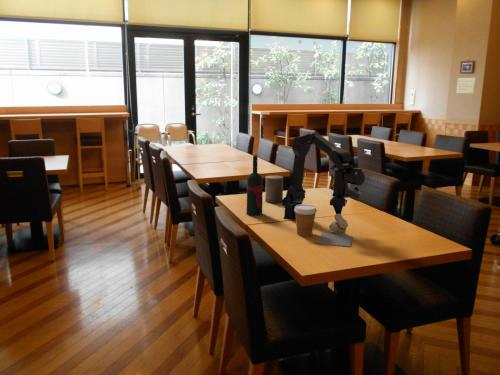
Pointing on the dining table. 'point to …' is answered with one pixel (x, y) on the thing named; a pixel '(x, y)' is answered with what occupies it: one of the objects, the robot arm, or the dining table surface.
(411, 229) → the dining table surface
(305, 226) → the disposable coffee cup
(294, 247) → the dining table surface
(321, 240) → the mat
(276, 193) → the pillar candle
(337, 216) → the chocolate bunny
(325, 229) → the dining table surface
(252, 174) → the wine bottle
